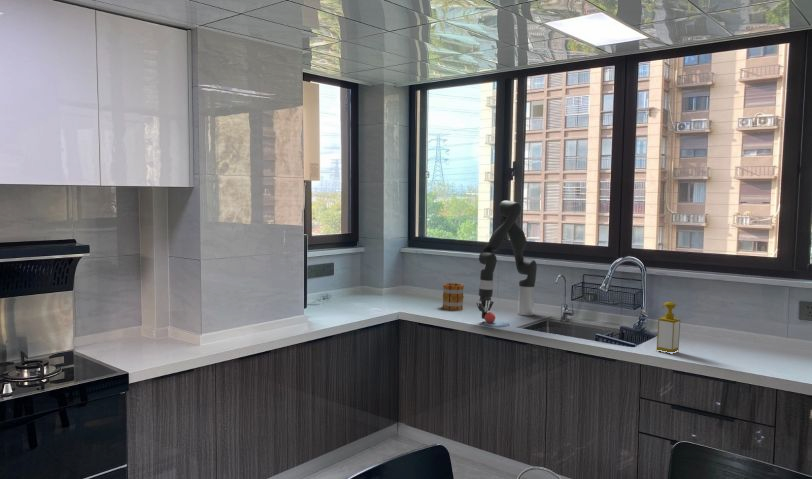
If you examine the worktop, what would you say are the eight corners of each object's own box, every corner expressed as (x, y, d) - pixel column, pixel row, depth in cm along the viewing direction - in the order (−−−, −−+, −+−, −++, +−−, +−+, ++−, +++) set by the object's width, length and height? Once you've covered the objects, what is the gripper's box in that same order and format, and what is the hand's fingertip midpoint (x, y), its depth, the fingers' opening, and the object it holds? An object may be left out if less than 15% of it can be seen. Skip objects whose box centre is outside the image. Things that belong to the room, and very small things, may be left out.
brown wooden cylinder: (459, 311, 371) (460, 286, 369) (438, 309, 376) (439, 285, 375) (468, 306, 389) (469, 283, 388) (448, 304, 394) (449, 281, 393)
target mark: (493, 320, 345) (493, 320, 345) (514, 324, 335) (514, 324, 335) (478, 323, 335) (478, 323, 335) (499, 327, 325) (499, 327, 325)
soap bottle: (651, 353, 279) (654, 302, 278) (662, 349, 288) (665, 300, 287) (667, 356, 274) (670, 305, 273) (678, 352, 283) (681, 302, 282)
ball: (489, 309, 341) (497, 312, 336) (489, 320, 342) (497, 322, 338) (482, 312, 337) (490, 315, 332) (482, 322, 338) (490, 325, 334)
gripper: (483, 289, 332) (482, 321, 333) (498, 288, 341) (496, 318, 342) (473, 287, 337) (471, 318, 338) (488, 286, 346) (486, 316, 348)
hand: (484, 318), depth 340 cm, fingers closed
